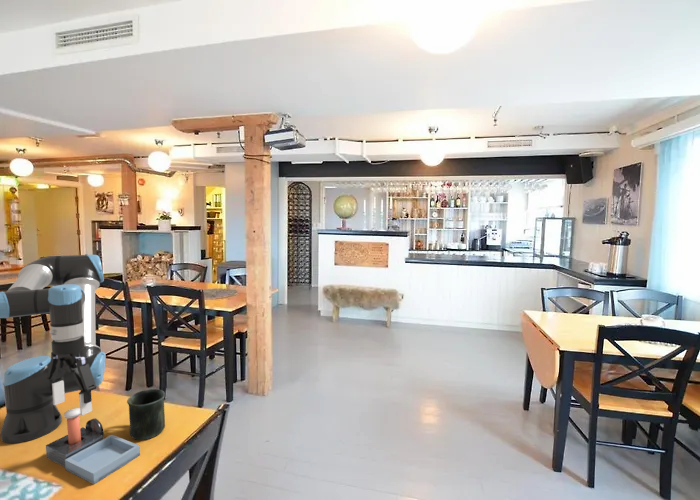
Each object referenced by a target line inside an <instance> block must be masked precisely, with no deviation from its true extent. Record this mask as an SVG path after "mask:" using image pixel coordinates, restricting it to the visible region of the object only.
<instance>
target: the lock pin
mask: <svg viewBox="0 0 700 500" xmlns="http://www.w3.org/2000/svg"><path fill="white" fill-rule="evenodd" d="M80 417H81V414H80V407H77V408H72V409H71V408H70V409H69V410H67V411H65V412H64V419H66V424H67V425H66V426H67V427H66V428H67V435H68V443H69V445H70V446H72V445H74V444H76V443H78V442H80V441H81V431H80V428H81V419H80Z"/></svg>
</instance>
